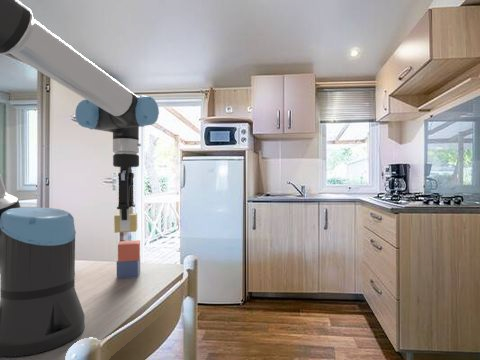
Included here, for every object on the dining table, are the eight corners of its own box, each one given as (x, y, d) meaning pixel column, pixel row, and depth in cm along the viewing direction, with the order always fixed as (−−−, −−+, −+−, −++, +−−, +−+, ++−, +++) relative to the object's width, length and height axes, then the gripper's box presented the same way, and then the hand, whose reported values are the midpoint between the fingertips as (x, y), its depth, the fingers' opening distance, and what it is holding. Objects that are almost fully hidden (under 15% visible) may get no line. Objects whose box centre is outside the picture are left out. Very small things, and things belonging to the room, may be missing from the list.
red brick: (139, 260, 96) (139, 243, 96) (117, 261, 94) (117, 244, 94) (140, 256, 102) (140, 240, 102) (120, 257, 100) (120, 241, 100)
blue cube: (137, 277, 95) (137, 260, 95) (116, 278, 94) (116, 261, 94) (140, 272, 101) (140, 256, 101) (120, 273, 100) (120, 257, 100)
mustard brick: (135, 231, 95) (135, 214, 95) (114, 232, 94) (114, 215, 94) (137, 228, 101) (137, 212, 101) (117, 229, 100) (117, 213, 100)
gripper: (135, 151, 89) (135, 233, 89) (142, 156, 108) (142, 224, 108) (106, 150, 87) (107, 235, 87) (118, 156, 106) (119, 225, 106)
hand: (126, 229), depth 98 cm, fingers closed on mustard brick, 6 cm apart
